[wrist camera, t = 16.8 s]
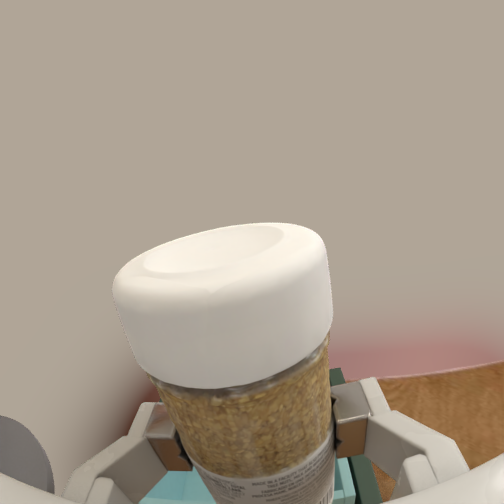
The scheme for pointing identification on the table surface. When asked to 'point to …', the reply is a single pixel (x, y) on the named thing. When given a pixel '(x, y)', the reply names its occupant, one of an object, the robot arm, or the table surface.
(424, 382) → the table surface
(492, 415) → the table surface
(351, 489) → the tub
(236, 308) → the sprinkles bottle
